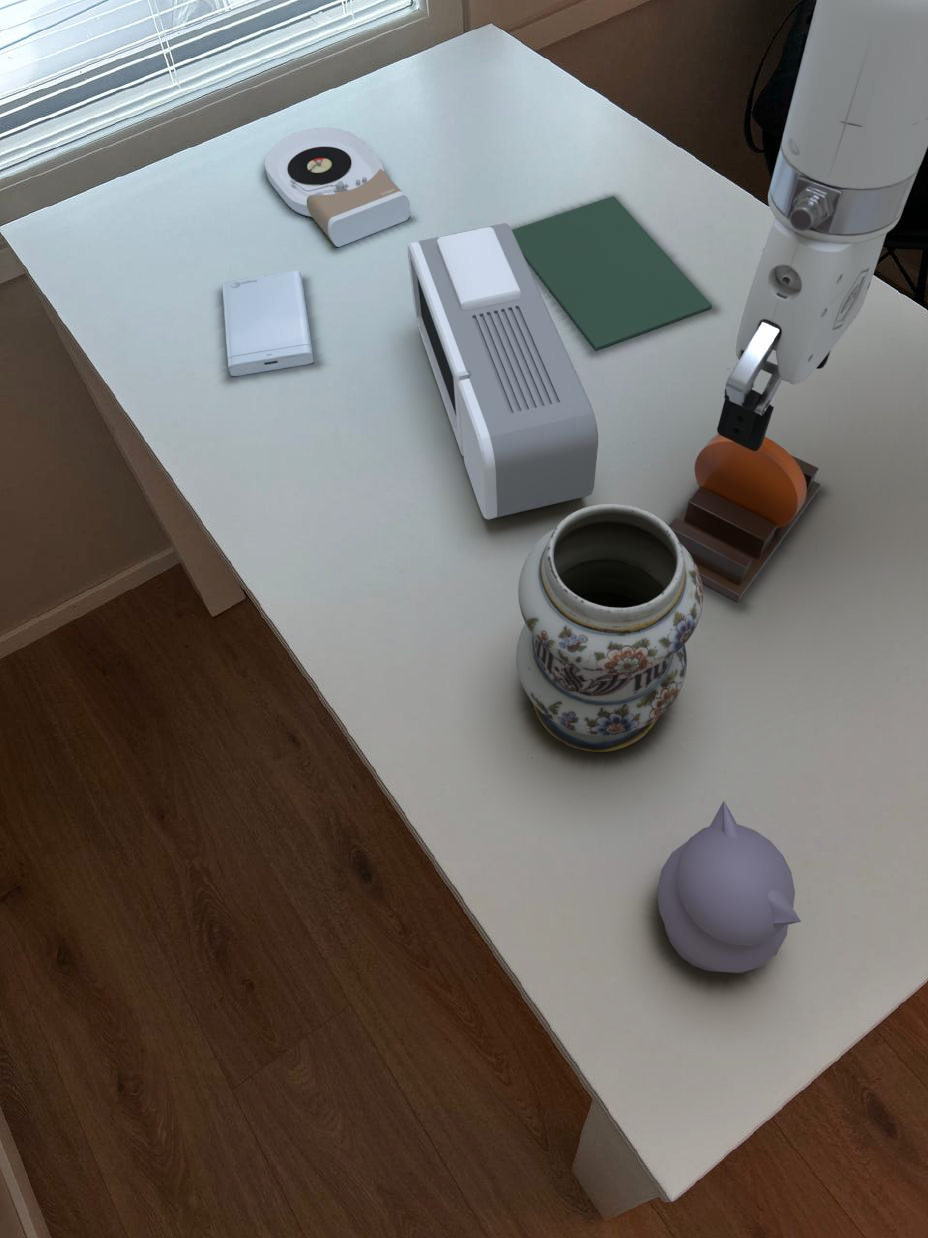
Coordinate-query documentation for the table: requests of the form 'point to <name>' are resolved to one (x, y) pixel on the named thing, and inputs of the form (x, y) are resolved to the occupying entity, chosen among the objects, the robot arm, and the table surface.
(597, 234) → the mat
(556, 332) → the alarm clock
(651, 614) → the apothecary jar
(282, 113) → the table surface
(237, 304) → the hard drive
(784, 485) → the disc
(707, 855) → the cat figurine
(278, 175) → the record player
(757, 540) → the rack
